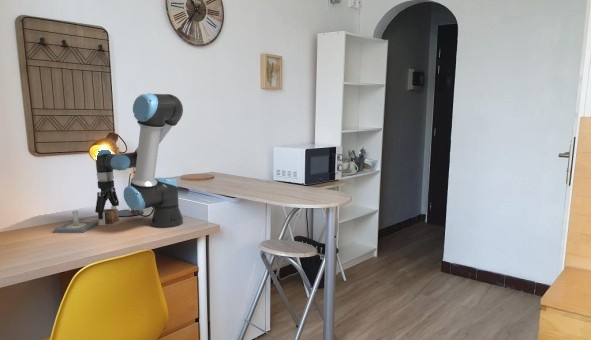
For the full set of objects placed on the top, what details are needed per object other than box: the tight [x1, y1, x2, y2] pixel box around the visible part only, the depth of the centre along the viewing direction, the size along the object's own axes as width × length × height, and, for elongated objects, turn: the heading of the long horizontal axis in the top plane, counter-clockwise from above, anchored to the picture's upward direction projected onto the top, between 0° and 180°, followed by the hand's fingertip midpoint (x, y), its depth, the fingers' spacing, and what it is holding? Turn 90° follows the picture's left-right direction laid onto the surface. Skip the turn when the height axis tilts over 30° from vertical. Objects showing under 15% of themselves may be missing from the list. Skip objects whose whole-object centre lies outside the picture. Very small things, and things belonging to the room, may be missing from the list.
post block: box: [53, 210, 99, 234], centre depth 207 cm, size 14×14×8 cm
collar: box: [97, 208, 120, 225], centre depth 218 cm, size 7×7×6 cm
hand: (108, 221), depth 219 cm, fingers open, 12 cm apart
